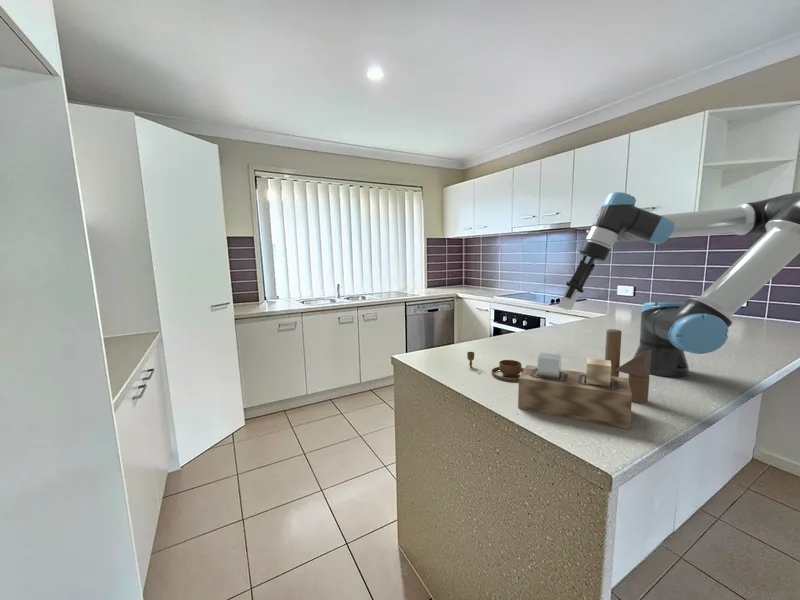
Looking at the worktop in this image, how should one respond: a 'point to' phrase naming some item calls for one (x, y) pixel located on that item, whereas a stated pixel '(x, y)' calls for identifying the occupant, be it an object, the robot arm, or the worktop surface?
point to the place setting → (503, 368)
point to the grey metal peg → (549, 365)
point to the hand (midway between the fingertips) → (564, 308)
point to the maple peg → (598, 372)
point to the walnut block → (576, 397)
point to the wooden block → (629, 366)
